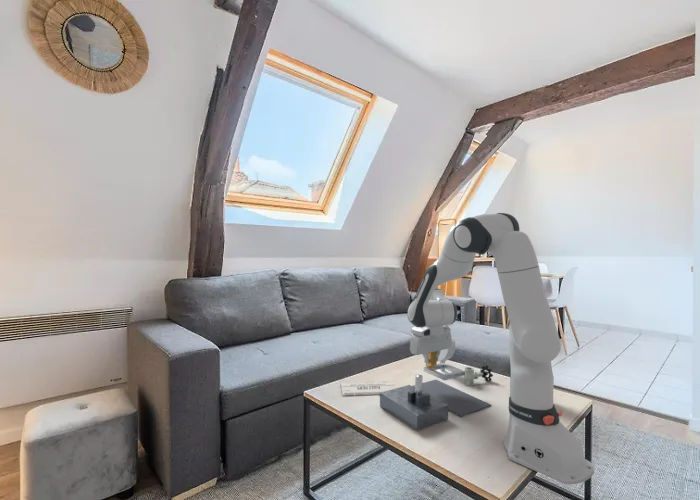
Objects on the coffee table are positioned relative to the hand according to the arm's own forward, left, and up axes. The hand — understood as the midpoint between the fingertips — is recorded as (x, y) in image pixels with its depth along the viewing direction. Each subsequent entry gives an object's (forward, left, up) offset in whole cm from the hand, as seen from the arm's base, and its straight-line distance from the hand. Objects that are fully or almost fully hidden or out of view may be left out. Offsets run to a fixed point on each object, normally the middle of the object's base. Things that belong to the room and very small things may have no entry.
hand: (431, 362), depth 147 cm
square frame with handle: (-5, 0, -2) cm, 6 cm away
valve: (-4, -22, -12) cm, 25 cm away
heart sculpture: (+12, -18, -12) cm, 25 cm away
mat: (-8, 0, -11) cm, 14 cm away
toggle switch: (-11, +20, -11) cm, 25 cm away
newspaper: (+14, +22, -12) cm, 29 cm away
